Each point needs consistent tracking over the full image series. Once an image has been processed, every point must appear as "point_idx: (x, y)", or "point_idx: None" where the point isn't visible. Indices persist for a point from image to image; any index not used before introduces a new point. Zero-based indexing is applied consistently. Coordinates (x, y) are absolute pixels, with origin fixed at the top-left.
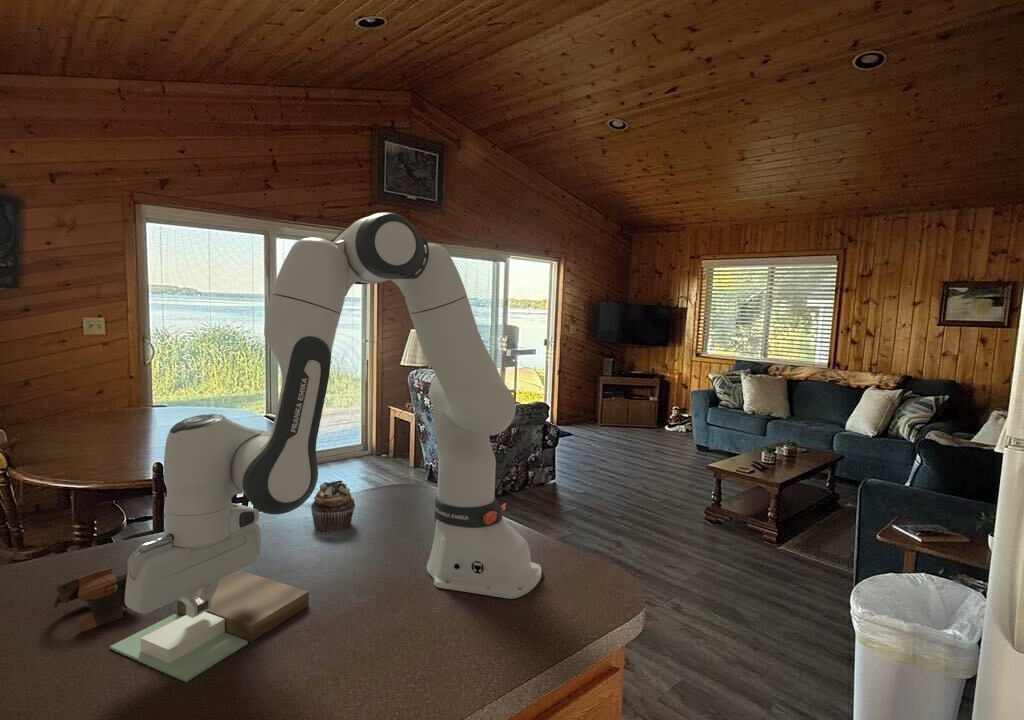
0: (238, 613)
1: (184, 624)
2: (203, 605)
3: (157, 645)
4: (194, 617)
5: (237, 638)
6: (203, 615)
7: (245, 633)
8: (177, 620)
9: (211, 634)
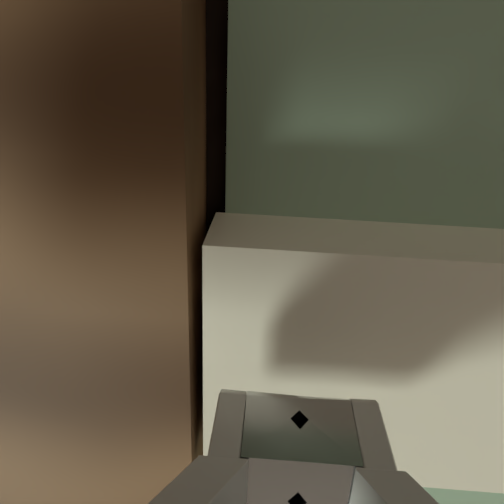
0: (98, 208)
1: None
2: (293, 438)
3: None
4: None
5: (236, 67)
6: None
7: (197, 14)
8: None
9: (315, 229)
